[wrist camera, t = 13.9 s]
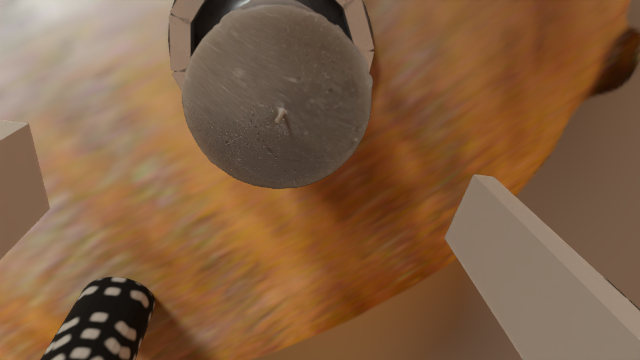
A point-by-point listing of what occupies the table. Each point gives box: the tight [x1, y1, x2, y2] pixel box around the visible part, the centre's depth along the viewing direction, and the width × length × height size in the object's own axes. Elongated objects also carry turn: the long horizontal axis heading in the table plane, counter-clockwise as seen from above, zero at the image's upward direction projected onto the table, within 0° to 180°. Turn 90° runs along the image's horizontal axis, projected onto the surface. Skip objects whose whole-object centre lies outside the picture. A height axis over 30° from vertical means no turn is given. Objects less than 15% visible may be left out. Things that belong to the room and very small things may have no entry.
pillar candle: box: [182, 0, 373, 189], centre depth 23 cm, size 10×10×15 cm
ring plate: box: [168, 0, 374, 91], centre depth 29 cm, size 17×17×2 cm
